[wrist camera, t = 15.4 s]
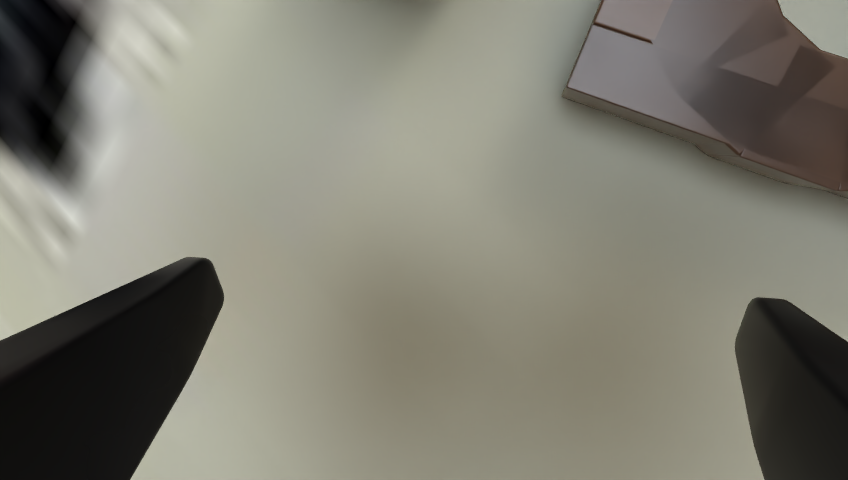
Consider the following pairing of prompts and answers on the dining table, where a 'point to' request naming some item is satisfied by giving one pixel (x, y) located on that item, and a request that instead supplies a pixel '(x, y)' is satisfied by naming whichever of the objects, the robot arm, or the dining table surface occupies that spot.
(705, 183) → the dining table surface
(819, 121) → the holder
